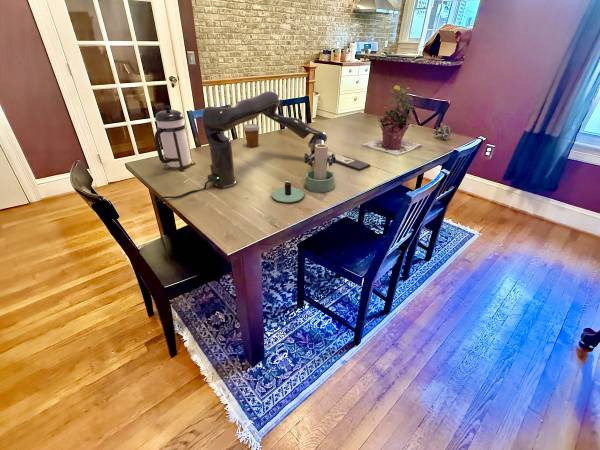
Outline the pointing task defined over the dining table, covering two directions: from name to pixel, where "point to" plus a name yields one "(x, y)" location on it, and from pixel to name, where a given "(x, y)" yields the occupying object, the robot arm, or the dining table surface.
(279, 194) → the lid
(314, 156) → the robot arm
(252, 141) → the disposable coffee cup
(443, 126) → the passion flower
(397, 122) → the potted flower
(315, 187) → the pot
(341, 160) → the chocolate bar
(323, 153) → the light brown hollow cylinder
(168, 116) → the coffee press
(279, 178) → the dining table surface
